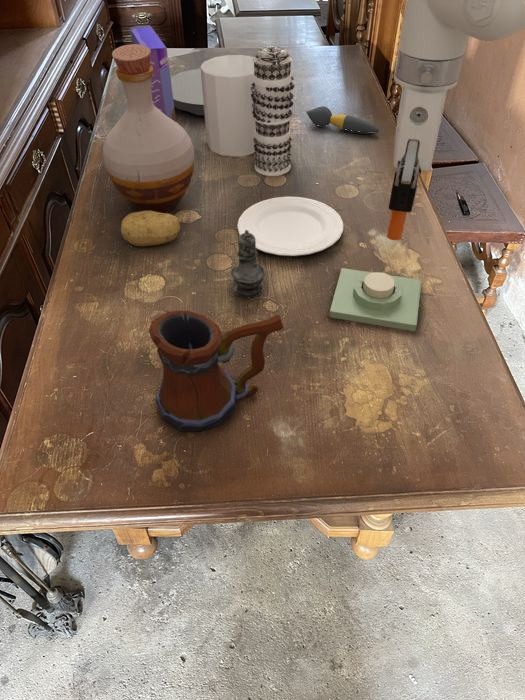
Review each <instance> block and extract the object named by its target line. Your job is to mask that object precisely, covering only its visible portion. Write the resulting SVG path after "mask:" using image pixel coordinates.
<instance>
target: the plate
mask: <svg viewBox="0 0 525 700" xmlns="http://www.w3.org/2000/svg"><path fill="white" fill-rule="evenodd" d="M236 227H237V231H238V235H239V236H240V235H241V234H243V233H245V231H246V230H248V232H249V233H251V234H253V235H254V236H255V241H256V250H257V251H260V252H263V253H265V254H269V255H274V256H277V257H292V258H294V257H303V256H304V257H305V256H309V255H314V254H317V253H321V252H323V251H325V250H326V249H328V248H330V247H332V246H333V245H335V244H336V243H337V242H338V241H339V240H340V238H341V236H342V234H343V233H344V221H343V219H342V217H341V215H340V214H339V213H338V212H337V211H336V210H335V209H334V208H333V207H331V206H329V205H328V204H326V203H324V202H321V201H319V200H315V199H313V198H308V197H302V196H277V197H271V198H268V199H264V200H261V201H259V202H256V203H254V204H252V205H251V206H249V207H248V208H247V209H245V210H244V211H243V212H242V214H241V215H240V216H239V217H238V221H237V225H236Z"/></svg>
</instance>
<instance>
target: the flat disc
mask: <svg viewBox="0 0 525 700" xmlns="http://www.w3.org/2000/svg"><path fill="white" fill-rule="evenodd" d="M170 78H171V86H172V93H173V101H174V108H176V109H177V110H180V111H185V112H190V113H191V114H195V115H197V116H205V113H204V102H203V91H202V80H201V70H200V67H199V68H193V69H189V70H185V71H182V72H179V73H177V74H174V75H172V76H170Z"/></svg>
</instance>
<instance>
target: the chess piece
mask: <svg viewBox="0 0 525 700" xmlns="http://www.w3.org/2000/svg"><path fill="white" fill-rule="evenodd" d="M258 256H259V250H257V249H256V241H255V236H254V235H253V234H251V233H249V232H248V230H246V231H245V233H243V234H241V235H239V236H238V250H237V252H236V257H237V258H238V264H236V265H234V267H232V269H231V271H230V275H231V277H232V279H233V281H234V283H235V284H234V286H233V291H234V293H235V294H236V295H237V296H238V297H241V298H244V299H253V298H256V297H259V296H260V295H262V294H263V292H264V289H265V286H264V284H263V280H264V277H265V275H266V269H265V267H264V266H263V265H261V264H260V263H258V262H257V257H258Z"/></svg>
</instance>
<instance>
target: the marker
mask: <svg viewBox="0 0 525 700" xmlns="http://www.w3.org/2000/svg"><path fill="white" fill-rule="evenodd" d="M401 172H403V170H402V169H401ZM413 174H414V171H413ZM407 213H408V212H402V211H394V210H390V215H389V220H388V225H387V232H386V238H388V239H389V240H391V241H400V240H401V239H402V236H403V233H404V227H405V223H406V217H407Z"/></svg>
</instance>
